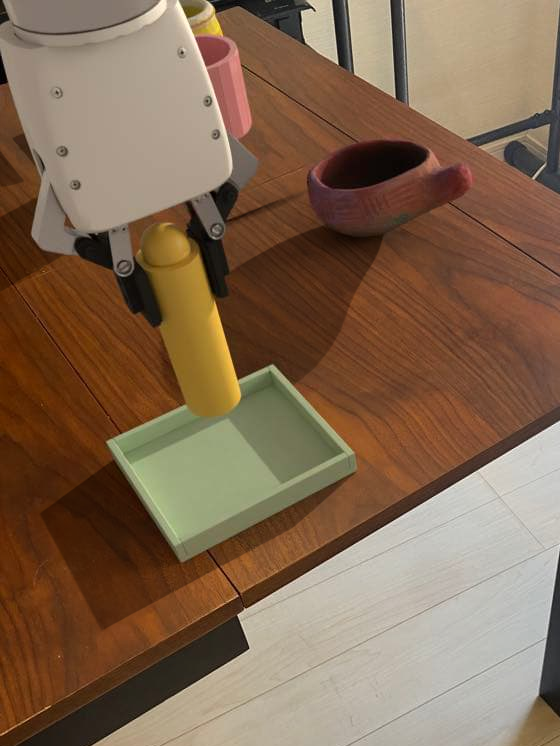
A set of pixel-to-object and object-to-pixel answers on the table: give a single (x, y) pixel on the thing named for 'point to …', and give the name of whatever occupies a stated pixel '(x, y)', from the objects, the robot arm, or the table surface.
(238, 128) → the pot
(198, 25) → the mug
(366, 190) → the bowl
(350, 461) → the tray
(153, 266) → the bottle
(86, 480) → the table surface
